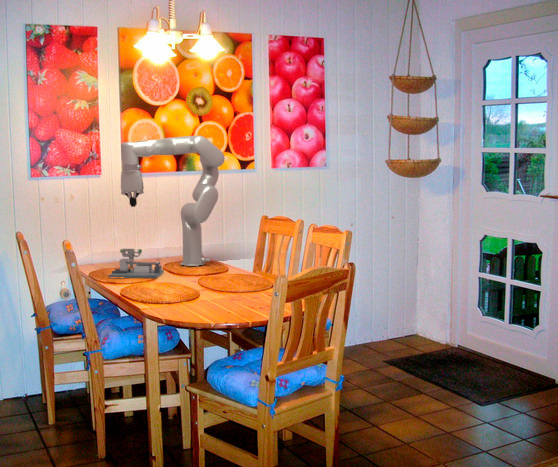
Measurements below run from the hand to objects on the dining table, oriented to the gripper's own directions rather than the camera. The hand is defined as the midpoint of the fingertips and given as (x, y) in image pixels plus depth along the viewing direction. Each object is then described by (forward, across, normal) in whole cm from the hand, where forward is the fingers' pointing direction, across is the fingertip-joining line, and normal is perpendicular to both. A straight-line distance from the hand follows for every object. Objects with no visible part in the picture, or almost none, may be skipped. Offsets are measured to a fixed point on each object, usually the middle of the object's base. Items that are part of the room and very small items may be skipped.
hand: (133, 206), depth 331 cm
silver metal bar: (+26, -6, +13) cm, 30 cm away
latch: (+29, +2, +13) cm, 32 cm away
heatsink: (+30, -6, +13) cm, 33 cm away
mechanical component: (+32, +4, -4) cm, 32 cm away
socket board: (+31, -3, +13) cm, 34 cm away
